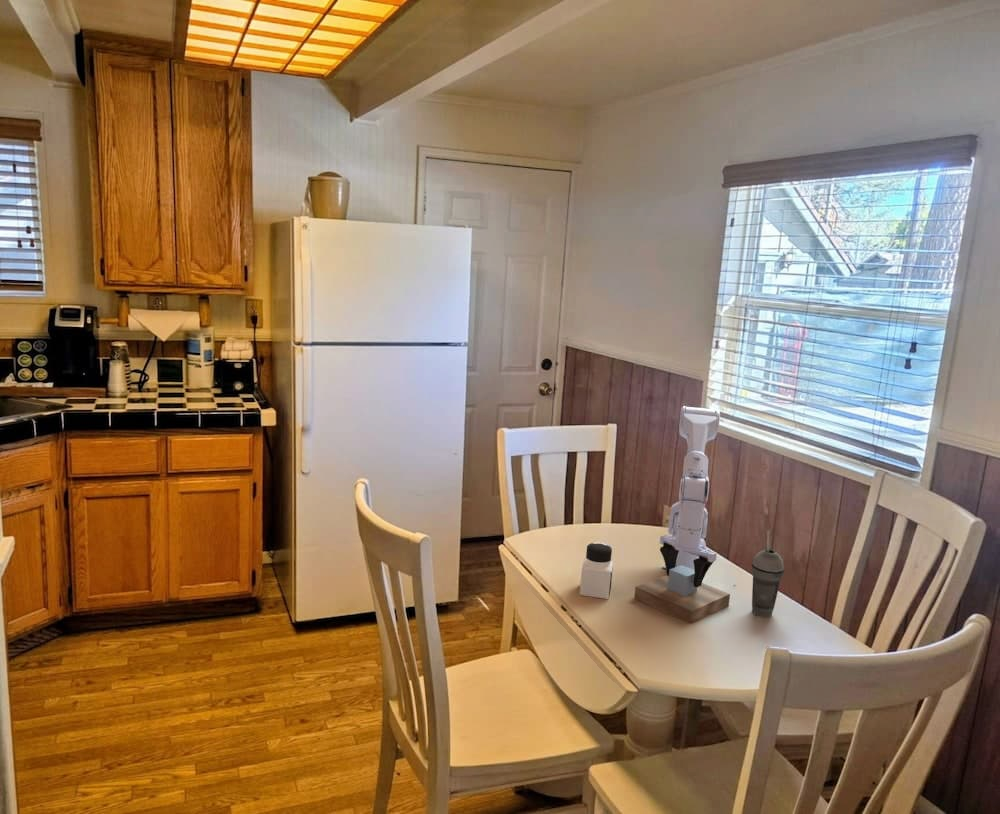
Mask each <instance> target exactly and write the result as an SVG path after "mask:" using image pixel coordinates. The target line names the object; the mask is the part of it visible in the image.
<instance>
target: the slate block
mask: <svg viewBox="0 0 1000 814" xmlns="http://www.w3.org/2000/svg"><path fill="white" fill-rule="evenodd" d="M694 575H695V570H693V569H691V568H688V567H685V566H683V565H680V566H678V567H675V568H672V569H670V570H669V579H668V588H667V589H668V590H670V591H673V592H675V593H678V594H680V595H683V596H688V595H690V594H692V593H695V592H697V588H696V587H694Z"/></svg>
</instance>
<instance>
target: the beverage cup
mask: <svg viewBox="0 0 1000 814" xmlns="http://www.w3.org/2000/svg"><path fill="white" fill-rule="evenodd" d="M770 532H771V531H770V530H767V534H766V549H763V550H760V551H759V552H758V553H757V554H756V555H755V556H754V558H753V560H752V562H751V566H752V567H751V570H752V589H751V590H752V593H751V597H752V598H751V612H752V614H753V615H755V616H757V617H760V618H763V619H764V618H772V617H773V612H774V609H775V606H776V605H775V604H776V602H777V598H778V597H777V596H778V592H779V589H780V584H781V579H782V577H783V576H784V572H785V565H784V561H783V558H782V556H781V555H780V554H779V553H778V552H776V551H775V550H772V549H770V537H771V536H770Z"/></svg>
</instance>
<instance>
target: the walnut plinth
mask: <svg viewBox="0 0 1000 814" xmlns="http://www.w3.org/2000/svg"><path fill="white" fill-rule="evenodd" d="M668 579H669V576H667V574H665V575H663V576H660V577H657V578H654V579H652V580H650V581H647V582H644V583H641V584H638V585H636V586H635V587H634V599H635V600H637V601H640V602H642V603H644V604H646V605H648V606H650V607H653V608H655V609H657V610H659V611H662V612H664V613H666V614H668V615H671V616H673V617H676V618H678V619H679V620H682V621H684V622H687V623H689V624H693V623H694V622H696V621H699V620H701V619H703V618H706V617H707V616H709V615H712V614H715V612H718V611H720V610H722V609H725V608H727V607H729V606H730V598H731V594H730V593H729V592H727V591H723V590H720V589H719V588H716V587H713V586H711V585H709V584H706V583H704V582H702V584H701V586H699V587H697V592H695V593H692V594H690V595H688V596H683V595H680V594H678V593H675V592H673V591H670V590H668V589H667V588H668Z"/></svg>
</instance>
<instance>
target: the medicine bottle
mask: <svg viewBox="0 0 1000 814" xmlns="http://www.w3.org/2000/svg"><path fill="white" fill-rule="evenodd" d="M612 553H613V548H612V546H610V545H609V544H606V543H604V542H599V541H597V542H591V543H589V544H587V546H586V553H585V554H586V555H585V558H584V559H583V563H582V567H581V576H580V586H579V587H580V588H579V595H580V596H585V597H592V598H596V599H597V598H598V599H605V600H609V599H610V595H611V591H612V590H611V589H612V581H613V571H614V570H613V569H614V561H612Z"/></svg>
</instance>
